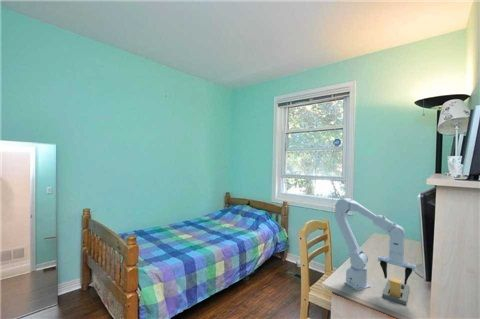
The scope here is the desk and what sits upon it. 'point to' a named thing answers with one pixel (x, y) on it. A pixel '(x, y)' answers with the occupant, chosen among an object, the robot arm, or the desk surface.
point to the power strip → (400, 300)
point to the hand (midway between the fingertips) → (395, 280)
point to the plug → (395, 287)
